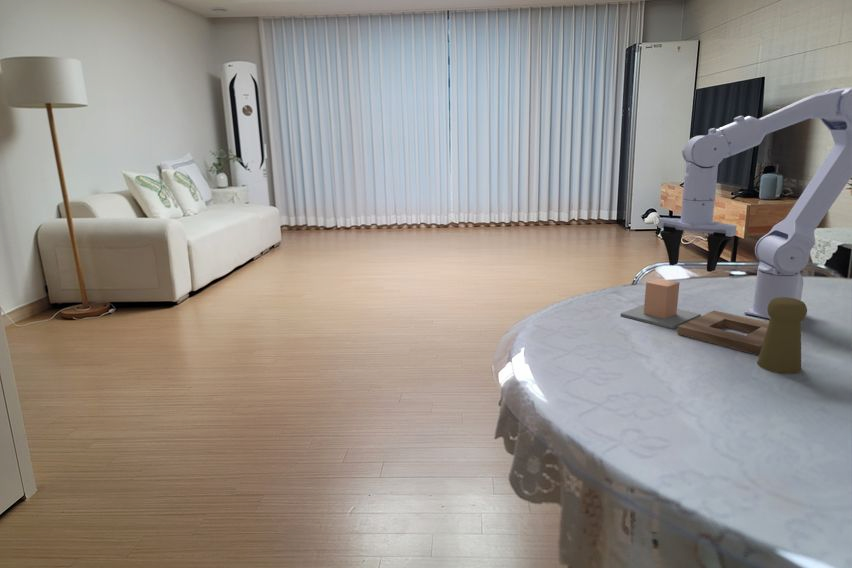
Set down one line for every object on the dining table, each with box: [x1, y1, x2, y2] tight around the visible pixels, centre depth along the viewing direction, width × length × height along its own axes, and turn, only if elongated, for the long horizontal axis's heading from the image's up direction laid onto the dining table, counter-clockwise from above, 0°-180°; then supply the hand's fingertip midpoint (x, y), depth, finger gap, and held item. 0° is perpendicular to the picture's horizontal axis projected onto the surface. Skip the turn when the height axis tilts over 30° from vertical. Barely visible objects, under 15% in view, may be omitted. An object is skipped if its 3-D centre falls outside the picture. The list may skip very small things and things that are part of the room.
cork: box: [756, 297, 808, 375], centre depth 92 cm, size 6×6×11 cm
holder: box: [677, 310, 769, 356], centre depth 107 cm, size 14×14×2 cm
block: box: [643, 277, 680, 319], centre depth 117 cm, size 4×4×6 cm
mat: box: [620, 304, 702, 330], centre depth 118 cm, size 11×11×1 cm
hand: (691, 267), depth 118 cm, fingers open, 7 cm apart
